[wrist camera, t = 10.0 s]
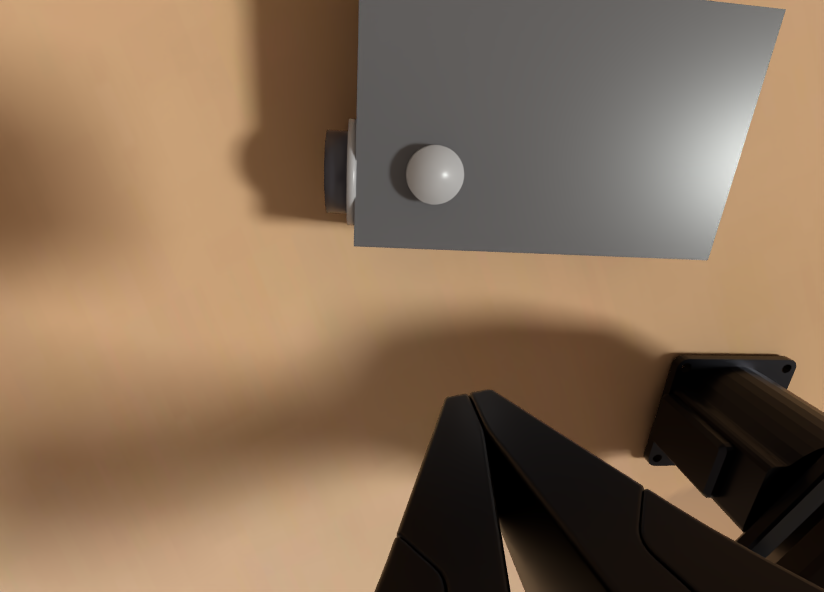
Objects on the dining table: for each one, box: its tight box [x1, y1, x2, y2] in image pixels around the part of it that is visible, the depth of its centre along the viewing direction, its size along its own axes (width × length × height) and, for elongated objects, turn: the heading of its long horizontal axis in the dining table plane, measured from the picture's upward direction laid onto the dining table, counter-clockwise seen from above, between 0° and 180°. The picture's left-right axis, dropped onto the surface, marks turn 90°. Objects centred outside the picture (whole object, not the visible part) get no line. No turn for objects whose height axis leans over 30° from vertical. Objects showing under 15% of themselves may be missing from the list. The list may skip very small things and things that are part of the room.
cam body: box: [324, 0, 786, 260], centre depth 16 cm, size 14×8×4 cm, turn 86°
